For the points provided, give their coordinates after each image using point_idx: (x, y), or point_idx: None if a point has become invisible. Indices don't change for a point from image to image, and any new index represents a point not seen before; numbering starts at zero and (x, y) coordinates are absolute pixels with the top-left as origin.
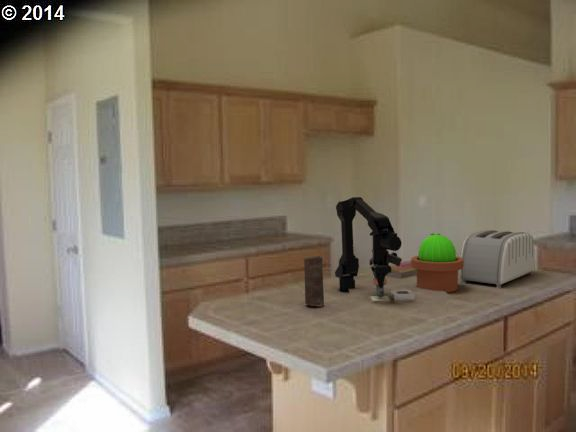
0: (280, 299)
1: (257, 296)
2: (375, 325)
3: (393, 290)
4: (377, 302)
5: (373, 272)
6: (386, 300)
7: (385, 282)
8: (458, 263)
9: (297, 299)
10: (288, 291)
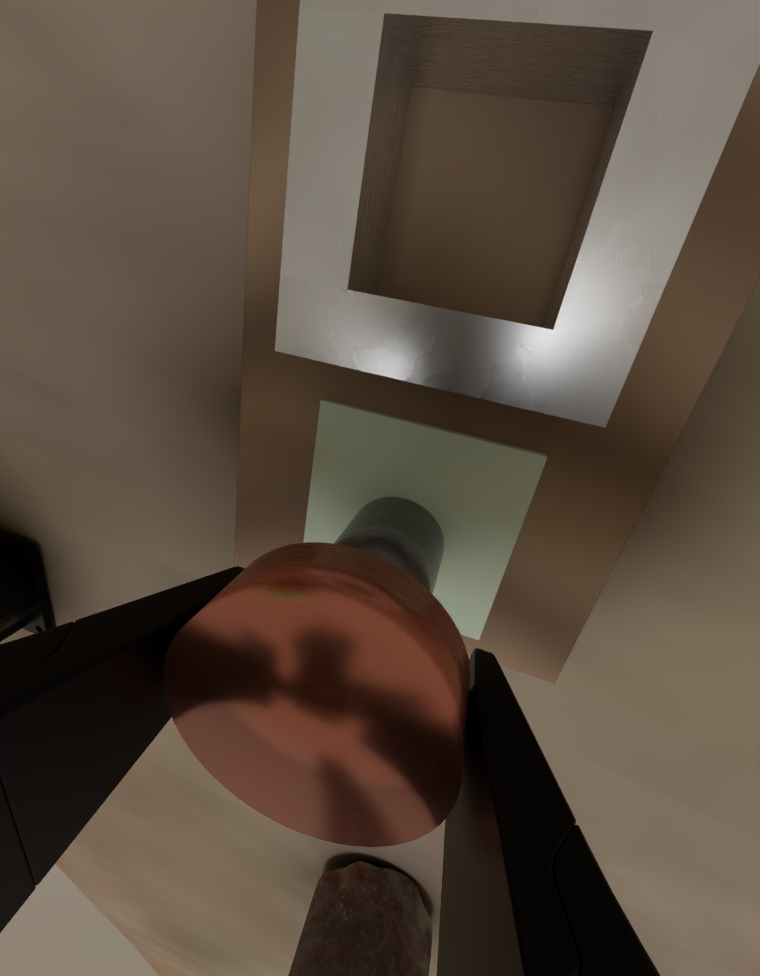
0: (214, 913)
1: (157, 935)
2: None
3: (287, 309)
4: (551, 617)
5: (32, 879)
6: (528, 502)
7: (437, 641)
8: None
9: (220, 871)
10: None
